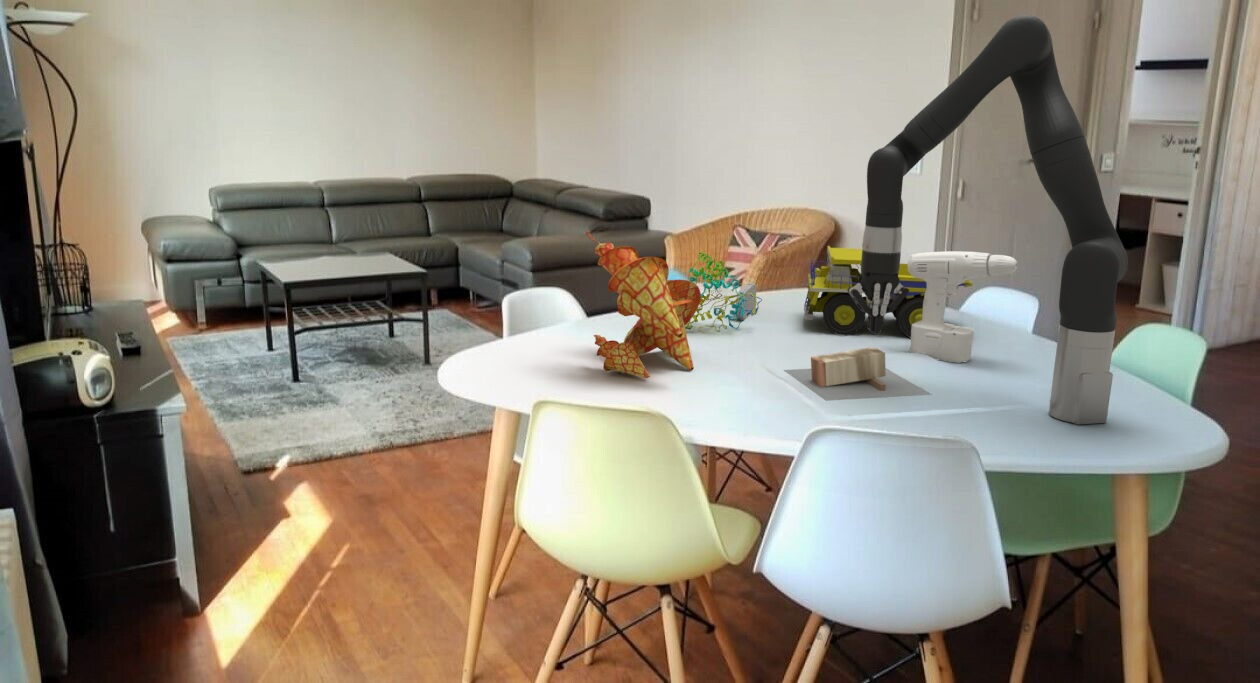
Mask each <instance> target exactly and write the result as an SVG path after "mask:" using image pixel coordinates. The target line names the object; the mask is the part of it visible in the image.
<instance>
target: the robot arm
mask: <svg viewBox="0 0 1260 683" xmlns="http://www.w3.org/2000/svg"><path fill="white" fill-rule="evenodd" d="M1053 45H1054V44H1053V39H1052V34H1051V32H1050V30H1049V28H1048V26H1047V25H1046V23H1045V21H1044V20H1042V19H1040V18H1039V17H1037V16H1036V15H1032V14H1020V15H1017V16H1014V17H1012V18H1010V19H1008V20H1006V22H1005V23H1003V25H1001V27H1000V29H998V31H997V32H996V33H995V35H994V36H993V37H992V39H991V40H990V41H988V43H987V44H986V46H985V47H984V48H983V50H981V52H980V53H979V54H978V55H977V57H976V58H974V60H973V61H972V62H971V63H970V64H969V65H968V66H967V67H966V68H965V69H964V71H962V73H961V74H959V75H958V76H957V77H956V78H955V79H954V80H952V82H951V83H950V84H949V85H948V86H947V87H946V88H945V89H944V90H943V91H941V92H940V93H939V94H938V95H937V96H936V97H934V99H933V100H931V101H930V102H929V103H928V104H927V105H926V106H925V107H923V108H922V109H921V110H920V111H919V112H918V113H917V114H916V115H914V117H913V118H911V119H910V121H909V122H907V124H906V125H905V127H904V128H903V130H902V131H901V132H900V133H899V134H897V135H896V136H895V137H894V138H893V139H891V141H889V142H888V143H887V144H886V145H885V146H884V147H881V148H879V149H877V150H876V151H874V152H873V153H872V154H870V157H869V159H868V162H867V167H866V168H867V169H866V190H867V191H866V192H867V205H866V212H865V213H866V214H865V224H864V225H865V226H864V231H863V236H862V237H863V238H862V244H861V249H862V259H861V266H860V274H861V276H860V278H859V279H858V284H856V285H855V286H854V287H853V288H851V287H849V288H848V290H847V291H848V293H849V295H850V296H851V297H852V299H853V300H854V302H855V303H856V305H857V306H858V308H859V309H860V310H861V311H863V312H865V313H866V314H867V323H866V324H867V325H866V327H867V330H868V331H869V333H871V334H874V335H876V334H881V332H882V331H883V329H884V321H885V316H886V314H889V312H890V314H893V313H892V312H893V311H894V310H895V309H896V308H897V306H898V305H899V304H900V303H901V301H902V300H903V299H904V298H905V296H906V295H907V294H908V293H909V289H908V288H905V287H904V286H902V285H901V284H900V279H899V277H898V272H899V268H900V264H901V252H902V243H903V233H902V229H903V228H902V226H903V225H902V224H903V216H904V215H903V213H904V202H903V199H902V192H903V182H904V181H903V180H904V176H906V175H907V174H908V173H909V172H910V171H911V170H912V169H913V168H914V167H915V166H916V165H917V164H918V163H919V161H921V160H922V159H923V158H924V157H925V156H926V155H927V154H928V153H930V152H931V151H933V150H934V149H935V148H936V147H937V146H939V145H940V144H941V143H942V142H943V141H944V140H945V139H947V138H948V137H949V136H950V135H951V134H952V133H953V132H955V130H956V129H958V128H959V127H960V126H961V125H962V124H963V122H964V121H965V120H966V119H967V118H968V117H969V116H970V114H971V113H972V112H973V111H974V110H975V109H976V107H978V105H979V104H980V103H981V102H982V101H983V100H984V99H985V98H986V97H987V96H988V95H989V94H990V93H991V92H992V91H993V90H994V89H995V88H997V86H999V85H1000V84H1001V83H1003V82H1004V81H1005V80H1007V79H1008V78H1010V80H1011V82H1012V83H1013V84H1012V85H1013V86H1014V89H1015V91H1016V93H1017V97H1019V101H1020V105H1021V110H1022V114H1023V115H1022V116H1023V123H1024V129H1025V130H1024V131H1025V137H1026V140H1027V145H1028V149H1029V152H1030V156H1031V159H1032V162H1033V164H1034V167H1035V171H1036V174H1037V176H1038V180H1039V181H1040V183H1041V185H1042V187H1043V189H1044V190H1045V192H1046V194H1047V195H1048V196H1049V198H1050V200H1051V201H1052V202H1053V204H1054V206H1055V207H1056V208H1057V210H1058V212H1059V214H1060V215H1061V216H1062V218H1063V219H1062V220H1063V221H1064V223H1065V226H1066V229H1067V232H1068V237H1069V241H1070V243H1071V249H1070V250H1069V251H1068V252H1067V254H1066V256H1065V258H1064V260H1063V266H1062V269H1061V270H1062V271H1061V278H1060V289H1059V291H1060V292H1059V298H1058V299H1059V301H1058V309H1059V310H1058V311H1059V314H1060V320H1059V327H1058V333H1057V334H1058V335H1057V341H1056V350H1055V357H1054V358H1055V359H1054V367H1053V373H1052V382H1051V388H1050V389H1051V390H1050V400H1049V407H1048V414H1049V415H1050V416H1051V417H1052V418H1055V419H1058V420H1059V421H1060V420H1061V421H1064V422H1067V423H1073V424H1075V425H1077V426H1078V425H1091V424H1107V419H1108V414H1109V413H1108V412H1109V406H1110V400H1111V399H1110V397H1111V390H1112V384H1113V377H1114V374H1113V372H1111V371H1110V368H1111V363H1112V356H1113V355H1112V354H1113V347H1114V341H1115V334H1116V328H1117V321H1118V316H1117V313H1116V308H1115V307H1116V306H1115V305H1116V299H1117V298H1116V297H1117V288H1118V283H1119V282H1120V281H1121V280H1122V279H1123V278H1124V277H1125V275H1126V272H1127V270H1128V264H1129V260H1128V259H1129V258H1128V254H1127V251H1126V249H1125V247H1124V244H1123V242H1122V240H1121V239H1120V237H1119V234H1118V232H1117V230H1116V229H1115V226H1114V223H1113V222H1112V219H1111V216H1110V215H1109V213H1108V210H1107V207H1106V205H1105V201H1104V198H1103V194H1102V188H1101V186H1100V182H1099V179H1098V175H1097V172H1096V169H1095V165H1094V162H1093V157H1092V155H1091V152H1090V149H1089V146H1088V143H1087V140H1086V137H1085V134H1084V131H1083V129H1082V126H1081V124H1080V121H1079V119H1078V117H1077V115H1076V113H1075V111H1074V109H1073V107H1072V104H1071V103H1070V100H1069V98H1068V97H1067V95H1066V94H1065V91H1064V89H1063V86H1062V83H1061V80H1060V79H1061V78H1060V76H1059V72H1058V67H1057V61H1056V58H1055V53H1054V47H1053ZM861 289H862V290H863V292H864V293H862V291H861ZM893 291H894V294H893V295H892V296H891V297H890V295H891V294H892V293H893ZM863 294H864V295H865V296H866V301H867V304H866V302H865V301H864V299H863V298H862V297H863ZM861 295H862V296H861ZM889 297H890V299H889Z"/></svg>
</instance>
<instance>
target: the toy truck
mask: <svg viewBox="0 0 1260 683" xmlns="http://www.w3.org/2000/svg"><path fill="white" fill-rule="evenodd" d="M826 250H827V252H826V253H827V256H826V258H825V260H824V261H822V260H811V261H810V273H807V274H808V275H807V287H806V288H807V294H806V298H805V302H804V304H803V314H804V320H812V321H814V316H815V315H816V314H815V313H822V317H823V322H824V324H825V326H826V328H827V329H828V330H829V331H830V332H831V333H834V334H836V335H838V336H850V335H853V334H856V333H857V332H858V331H859V330H860V329H861V328H862V327H863V325H864V323H865V322H866V314H867V313H865V312H863V311H861V310H860V309H859V308H858V306H857V305H856V303H855V302H854V300H853V299H852V297H851V296H850V295H849V293H848V291H847V290H848V288H849V287H851V288H853V287H854V286H855V285H856V284H858V279H859V278H860V276H861V271H859V268H856V267H855V268H853V266H852V265H859V266H860V267H861V259H862V248H848V247H847V248H845V247H831V246H830V245H827V249H826ZM813 262H816V263H817V264H816V267H815V263H813ZM819 263H825V266H824V265H822V266H821V267H819ZM827 263H830V266H827ZM907 265H908V263H900V268H899V272H898V277H899V279H900V284H901V285H902V286H904V287H905V288H908V289H909V293H908V294H907V295H906V296H905V298H904V299H903V300H902V301H901V303H900V304H899V305H898V306H897V308H896V309H895V310H894V311H893V312H892V313H890V312H889V313H890V314H892V315H893V317H894V319H895V320H896V322H897V324H898V326H899V328H900V331H902V332H903V334H904V335H905V336H906V337H908V338H910V339H911V327H912V324H914V323H916V322H918V321H922V313H923V305H924V304H923V301H924V296H925V292H926V288H927V283H926V281H925V280H923V279H918V278H915V277H913V276H912V275H911V274H910V273H909V272H908V269H907V268H908V267H907ZM958 287H964V288H969V287H973V283H972V282H971V281H970V279H968V280H966V282H964V283H962V284H959V285H958V286H957V287H956V290H958ZM861 291H862V295H861V296H862V298H863V299H864V301H865V302H866V304H867V301H866V295H865V296H863V294H865V293H864V292H863V290H862V289H861ZM820 293H821V294H820ZM893 294H894V291H893V293H892V294H891V295H890V297H891V296H892V295H893ZM819 295H820V296H819ZM890 297H889V299H890ZM889 313H888V314H889Z"/></svg>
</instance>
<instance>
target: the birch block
mask: <svg viewBox="0 0 1260 683" xmlns="http://www.w3.org/2000/svg"><path fill="white" fill-rule="evenodd" d="M810 369H811V373H812V381H814V382H815V383H817V384H818V385H820V386H821V387H825V386H831V385H837V384H843V383H849V382H855V381H861V380H866V379H872V378H878V377H884V376H886V369H887V367H886V352H884V351H883V350H881V349H879V348H878V347H877V348H876V347H874V346H872V347H871V346H870V347H865V348H858V349H852V350H847V351H846V350H845V351H840V352H834V353H828V354H821V355H816V356H814V355H813V356H811V357H810Z"/></svg>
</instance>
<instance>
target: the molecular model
mask: <svg viewBox="0 0 1260 683" xmlns="http://www.w3.org/2000/svg"><path fill="white" fill-rule="evenodd" d="M697 255H698V256H697V260H696V262H695V264H694V265H693V267H692V268H690V269H688V272H689V273H692V275H693V276H690V277H689V281H691V282H693V283H694V282H695V284H696V285H697V283H698V278H699V277H700V276H701V277H702V278H701V279H702V280H704V282H702V283H703V284H702V286H703V292H702V293H701V299H700V303H699V305H700V306H698V308H697V310H696V313H697V314H696V315H695V314H694V315H693V317H692V318H693V320H692V318H691V319H690V321H689V322H688V323H687V324H686V325H685V330H686V329H687V328H688V329H689V330H691V329H692V328H693V324H692V323H699V320H698V319H699V318H698V317H699V316H700V319H701V321H705V320H706V317H707V319H708V320H712V318H713V316H712V314H711V309H712V308H713V315H714V316H716V318H714V320H713V322H712V324H711V325H705V326H699V327H698V328H697V331H699V332H700V333H702V334H707V333H709V332H710V331H711V329H712V328H713V327H714V330H716V332H720V331H721V327H722V328H724V329H725V330H726V329H727V328H728V327H727V325H725V324H724V321H723V318H724V319H727V318H728V326H729V327H730V328H733V329H735V330H736V329H737V330H738V329H739V328H740V325H741V323H743V322H742V321H743V320H740V321H739V323H738V326H737V327H735V326H734V325H733V324H732V322H731V321H736V320H737V313H738V311H739V307H740V306H741V304H742V301H743V308H742V307H740V308H742V312H741V315H740V316H741V317H743V315H744V311H748V312H749V313H748V314H750V316H752V317H753V316H755V315H757V313H758V310H759V304H760V303H761V302H762V301H763V299H762V298H760V297H759V296H757V295H756V296H755V295H754V294H752V293H751V294H749V293H746V294H744V293H740V294H739V293H738V291H737V289H738V288H739V286H740V281H739V278H738V276H737V275H734V274H732V275H729V271H728V269H727V268H724V267H725V264H724V262H723V261H722V260H719V261H715V260H713V258H712V256H710V255H708V254H706V253H704V252H699V253H698V254H697ZM702 257H703V258H702ZM706 259H708V260H706ZM699 260H700V261H702V262H704V263H705V264H706V266H705V269H706V271H708V272H706V271H705V269H704V267H703V266H702V267H700V268H699V271H698V270H697V268H695V266H696V265H697V264H698V261H699ZM713 264H715V266H714V267H713V268H711V266H712V265H713ZM716 271H718V272H716ZM710 272H711V274H710ZM723 272H725V273H723ZM721 275H722V276H723V279H722V278H721ZM718 277H719V279H718ZM735 277H736V278H735ZM727 278H729V279H731V282H728V283H727V284H726V283H725V279H727ZM732 278H733V279H732ZM708 283H709V284H710V285H709V284H708ZM713 287H714V289H713ZM721 287H722V288H723V289H725V290H728V289H729V288H731V287H732V289H731V292H734V291H735V293H736V294H734V295H726V294H724V295H723V294H722V293H721ZM711 289H713V290H711ZM718 289H719V290H718ZM707 290H708V291H707ZM714 291H715V292H714ZM706 292H708V293H706ZM705 294H706V295H705ZM714 294H715V295H714ZM737 294H738V295H737ZM745 295H751V296H752V297H754V298H756V299H755V307H754V308H753V310H754V311H753V310H752V312H751V311H749V310H745V309H744V301H745V300H746V301H747V299H745V300H744V298H743V297H744V296H745ZM737 296H741V297H740V298H738V299H737ZM733 298H736V299H734V300H730V299H733ZM717 299H718V301H715V300H717ZM757 299H759V300H760V301H758V300H757ZM738 300H739V301H740V300H742V301H741V302H740V304H739V301H738ZM707 301H708V302H707ZM712 301H715V302H713V303H712V306H711V307H710V309H708V310H707V311H704V312H703V313H700V311H702V310H703V306H706V305H708V304H710V302H712ZM722 301H724V303H722V304H720V305H715V304H717V303H720V302H722ZM737 301H738V304H737V305H736V302H737ZM705 302H707V303H705ZM728 302H729V303H728ZM728 306H731V308H732V309H731V310H730V311H729V314H726V309H727V307H728ZM733 309H734V310H733ZM704 314H705V315H706V316H704ZM734 317H735V318H734ZM691 320H692V321H691ZM716 320H719V321H720V322H721V325H719V326H718V329H717V328H716V326H715V325H714V324H715V321H716ZM706 327H709V330H708V331H702V330H700V328H706Z"/></svg>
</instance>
